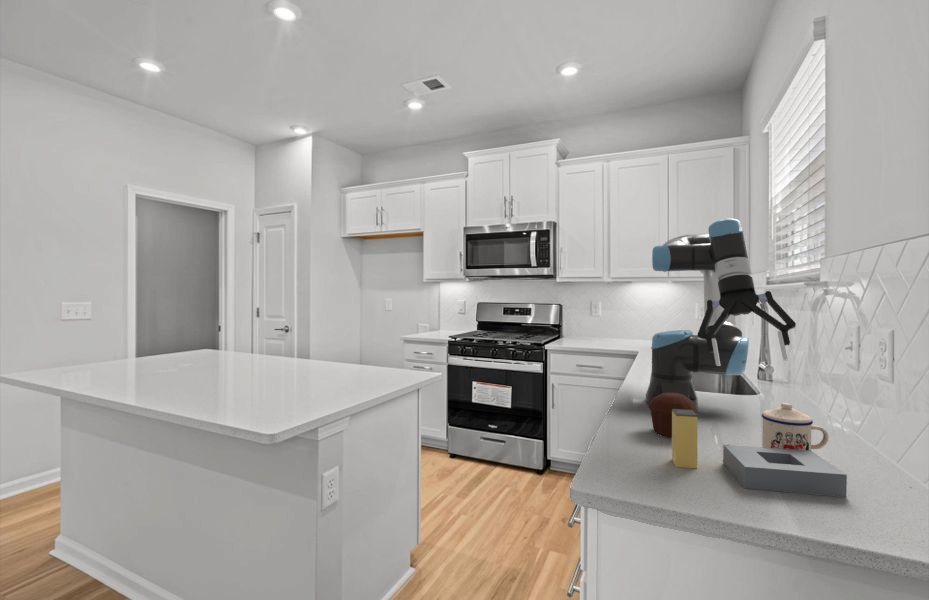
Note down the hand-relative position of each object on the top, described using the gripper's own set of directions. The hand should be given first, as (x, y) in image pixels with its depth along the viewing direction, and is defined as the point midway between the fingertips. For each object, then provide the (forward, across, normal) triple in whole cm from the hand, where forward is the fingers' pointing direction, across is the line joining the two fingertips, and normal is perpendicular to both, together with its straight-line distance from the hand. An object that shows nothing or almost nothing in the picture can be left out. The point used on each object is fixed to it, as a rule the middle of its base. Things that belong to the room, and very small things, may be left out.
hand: (750, 362), depth 106 cm
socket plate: (+24, +1, -15) cm, 29 cm away
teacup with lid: (+21, +4, 0) cm, 22 cm away
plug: (+22, -15, -17) cm, 32 cm away
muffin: (+16, -20, +2) cm, 26 cm away
